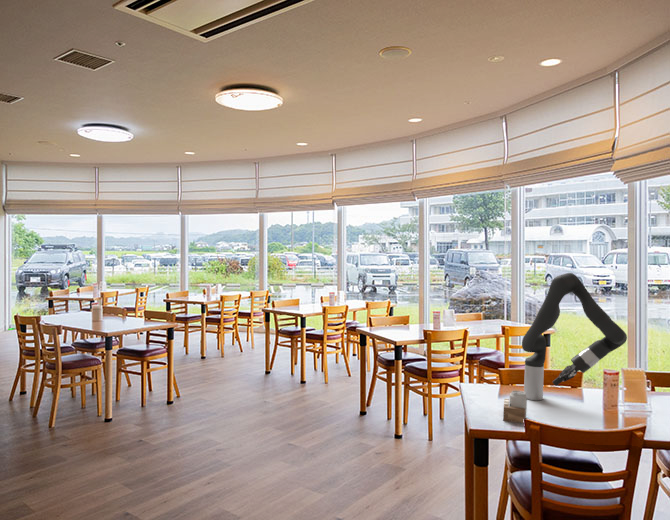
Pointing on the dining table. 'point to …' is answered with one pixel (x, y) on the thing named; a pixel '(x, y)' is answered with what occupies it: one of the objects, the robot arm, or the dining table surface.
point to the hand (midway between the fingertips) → (554, 383)
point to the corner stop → (513, 413)
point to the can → (518, 400)
